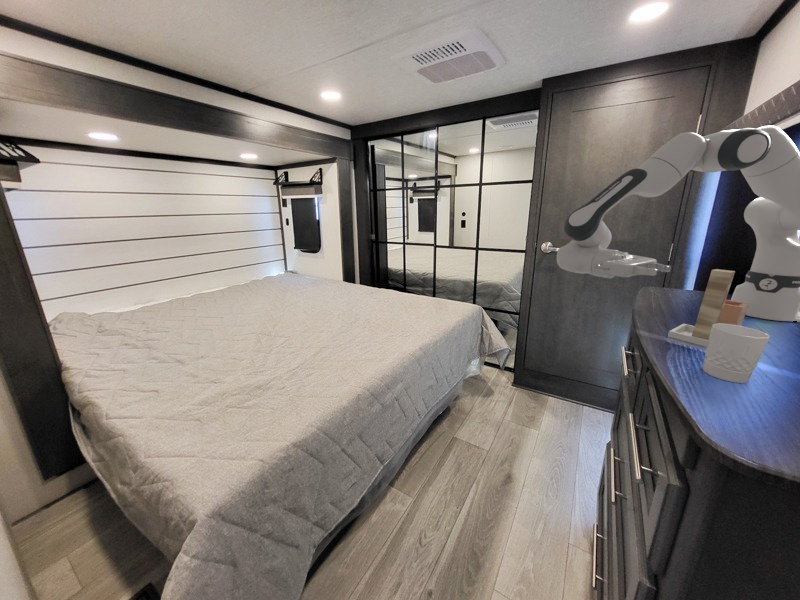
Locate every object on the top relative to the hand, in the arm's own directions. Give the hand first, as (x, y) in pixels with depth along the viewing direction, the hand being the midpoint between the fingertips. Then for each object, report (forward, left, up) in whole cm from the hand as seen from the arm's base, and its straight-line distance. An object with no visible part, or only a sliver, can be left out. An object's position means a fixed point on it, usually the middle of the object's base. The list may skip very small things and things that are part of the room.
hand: (663, 270), depth 85 cm
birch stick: (+1, +12, -16) cm, 20 cm away
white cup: (+19, +20, -17) cm, 32 cm away
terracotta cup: (-13, +12, -17) cm, 24 cm away
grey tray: (+1, +12, -17) cm, 21 cm away
